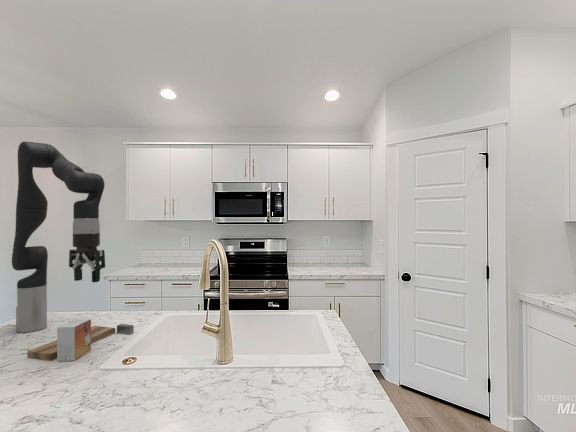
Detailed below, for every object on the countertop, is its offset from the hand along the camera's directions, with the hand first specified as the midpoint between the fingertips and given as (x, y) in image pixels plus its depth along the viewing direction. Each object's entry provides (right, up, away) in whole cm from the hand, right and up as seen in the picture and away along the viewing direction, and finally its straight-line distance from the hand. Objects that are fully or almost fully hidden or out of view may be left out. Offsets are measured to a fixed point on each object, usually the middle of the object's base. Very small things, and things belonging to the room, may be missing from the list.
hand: (86, 281), depth 101 cm
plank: (-8, -23, +6) cm, 25 cm away
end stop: (+4, -23, +16) cm, 28 cm away
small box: (-2, -23, -3) cm, 24 cm away
